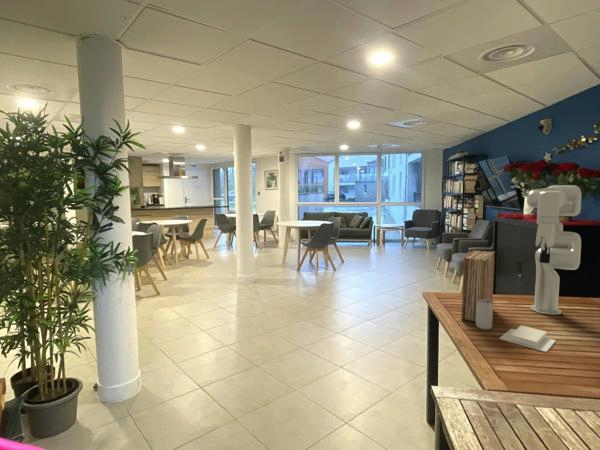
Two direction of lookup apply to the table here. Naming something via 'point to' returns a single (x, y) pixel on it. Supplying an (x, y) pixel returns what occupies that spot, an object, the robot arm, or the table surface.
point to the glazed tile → (528, 336)
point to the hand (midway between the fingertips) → (544, 262)
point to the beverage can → (484, 314)
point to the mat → (542, 346)
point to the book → (477, 281)
